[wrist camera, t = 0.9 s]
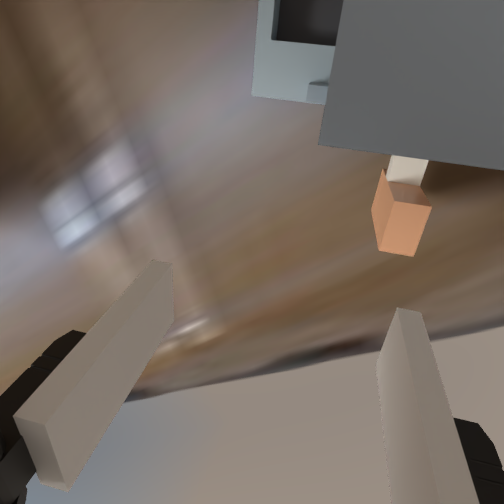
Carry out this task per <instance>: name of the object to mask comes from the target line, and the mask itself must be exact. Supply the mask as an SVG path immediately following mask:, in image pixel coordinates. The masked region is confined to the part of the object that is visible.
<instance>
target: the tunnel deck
mask: <svg viewBox="0 0 504 504" xmlns="http://www.w3.org/2000/svg"><path fill="white" fill-rule="evenodd" d="M251 96H257V97H265V98H273V99H282V100H290V101H298V102H306V103H314V104H323V105H325V108H324V113H323V119H322V124H321V130H320V136H319V141H318V145H323V146H330V147H337V148H345V149H352V150H359V151H366V152H373V153H381V154H388V155H395V156H402V157H410V158H417V159H424V160H431V161H439V162H446V163H453V164H460V165H468V166H475V167H482V168H489V169H497V170H504V0H259V6H258V19H257V32H256V44H255V57H254V70H253V83H252V95H251Z"/></svg>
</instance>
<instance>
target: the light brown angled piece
mask: <svg viewBox="0 0 504 504" xmlns="http://www.w3.org/2000/svg"><path fill="white" fill-rule="evenodd" d="M428 161H429V160H424V159H417V158H410V157H402V156H395V155H392V156H391V160H390V163H389V167H388V169H382V173H381V177H380V180H379V184H378V187H377V191H376V194H375V198H374V202H373V205H372V209H371V211H372V217H373V222H374V227H375V232H376V238H377V243H378V248H379V251H384V252H390V253H396V254H401V255H407V256H413V257H414V254H415V251H416V249H417V246H418V243H419V241H420V238H421V235H422V232H423V230H424V227H425V224H426V222H427V219H428V216H429V214H430V211H431V208H432V206H431V204H430V203H429V201H428V199H427V197H426V196H425V194H424V192H423V191H422V189H421V187H420V184H421V181H422V179H423V176H424V173H425V170H426V167H427V164H428Z"/></svg>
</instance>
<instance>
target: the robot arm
mask: <svg viewBox="0 0 504 504" xmlns="http://www.w3.org/2000/svg"><path fill="white" fill-rule="evenodd" d="M173 321H174V302H173V274H172V263H167V262H161V261H156V260H152V261H151V262H150V263H149V265H148V266H147V267H146V268H145V269H144V270H143V271H142V272H141V273H140V275H139V276H138V277H137V278H136V279H135V280H134V281H133V282H132V284H131V285H130V286H129V287H128V288H127V289H126V290H125V291H124V292H123V294H122V295H121V296H120V297H119V298H118V299H117V300H116V301H115V302H114V304H113V305H112V306H111V307H110V308H109V309H108V310H107V311H106V313H105V314H104V315H103V316H102V317H101V318H100V319H99V320H98V321H97V323H96V324H95V325H94V326H93V327H92V328H91V329H90V330H89V331H88V333H84V332H79V331H75V330H72V331H70V332H69V333H67V334H65V335H63V336H62V337H60V338H58V339H57V340H55V341H54V342H53V343H52V344H51V345H50V346H49V347H48V348H47V349H46V350H45V351H44V352H43V353H42V356H41V357H40V356H39V357H38V358H37V359H36V360H35V361H34V362H33V363H32V364H31V367H30V368H28V369H27V370H26V371H25V372H24V373H23V374H22V375H21V376H20V377H19V378H18V379H17V380H16V381H15V382H14V383H13V384H12V385H11V386H10V387H9V388H8V389H7V390H6V391H5V392H4V393H3V394H2V395H1V396H0V504H25V501H26V495H27V488H26V485H27V483H28V482H29V480H30V479H31V478H32V476H33V475H34V474H35V472H36V473H37V476H38V478H39V480H40V483H41V484H43V485H46V486H50V487H53V488H56V489H59V490H63V491H66V492H69V490H70V488H71V487H72V485H73V483H74V482H75V480H76V479H77V477H78V475H79V474H80V472H81V471H82V469H83V467H84V466H85V464H86V462H87V461H88V459H89V458H90V456H91V454H92V453H93V451H94V449H95V448H96V446H97V445H98V443H99V441H100V440H101V438H102V436H103V435H104V433H105V432H106V430H107V428H108V427H109V425H110V424H111V422H112V420H113V418H114V417H115V415H116V414H117V412H118V411H119V409H120V407H121V406H122V404H123V402H124V401H125V399H126V398H127V396H128V394H129V393H130V391H131V389H132V388H133V386H134V385H135V383H136V381H137V380H138V378H139V377H140V375H141V373H142V372H143V370H144V368H145V367H146V365H147V364H148V362H149V360H150V359H151V357H152V355H153V354H154V352H155V351H156V349H157V347H158V346H159V344H160V342H161V341H162V339H163V338H164V336H165V334H166V333H167V331H168V329H169V328H170V326H171V325H172V323H173ZM376 371H377V380H378V389H379V398H380V406H381V416H382V425H383V434H384V442H385V451H386V461H387V469H388V477H389V487H390V496H391V504H504V471H503V470H502V464H501V461H500V459H499V457H498V454H497V451H496V449H495V446H494V444H493V442H492V441H491V440H490V439H489V437H488V436H487V435H486V433H485V432H484V431H483V429H482V428H481V427H480V425H479V424H478V423H474V422H470V421H465V420H461V419H457V418H453V416H452V412H451V409H450V406H449V403H448V400H447V396H446V393H445V390H444V386H443V384H442V380H441V377H440V373H439V370H438V367H437V363H436V360H435V357H434V354H433V351H432V347H431V344H430V341H429V337H428V334H427V331H426V328H425V324H424V321H423V318H422V315H421V312H417V311H412V310H407V309H402V308H397V309H396V312H395V315H394V317H393V320H392V323H391V325H390V328H389V331H388V333H387V336H386V339H385V341H384V344H383V347H382V349H381V352H380V355H379V357H378V360H377V363H376Z"/></svg>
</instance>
